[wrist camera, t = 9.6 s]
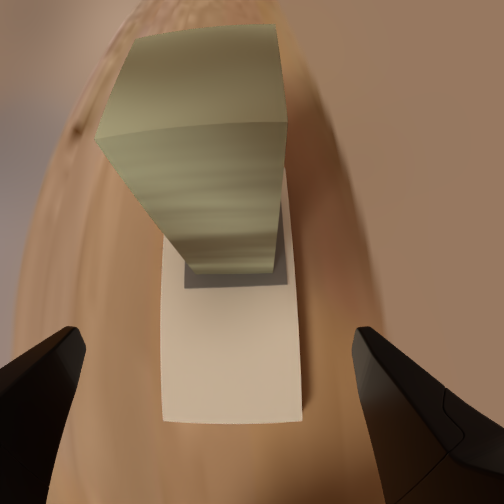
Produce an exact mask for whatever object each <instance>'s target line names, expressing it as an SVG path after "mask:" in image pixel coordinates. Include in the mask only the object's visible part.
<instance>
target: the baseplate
mask: <svg viewBox="0 0 504 504" xmlns="http://www.w3.org/2000/svg"><path fill="white" fill-rule="evenodd" d="M160 352H161V391H162V412H163V421H170V422H184V423H205V424H259V423H280V422H295V421H302V392H301V367H300V346H299V328H298V311H297V296H296V281H295V268H294V255H293V243H292V231H291V220H290V209H289V199H288V189H287V179H286V170H285V168H284V171H283V181H282V192H281V202H280V211H279V221H278V231H277V240H276V249H275V258H274V267H273V273H259V274H195V273H194V272H193V270H192V269H191V268H190V267H189V265H188V264H187V263H186V262H185V260H184V259H183V258H182V257H181V255H180V254H179V253H178V252H177V250H176V249H175V248H174V247H173V245H172V244H171V243H170V242H169V240H168V239H167V238H166V236H165V235H164V241H163V258H162V280H161V321H160Z"/></svg>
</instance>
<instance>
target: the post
mask: <svg viewBox="0 0 504 504" xmlns="http://www.w3.org/2000/svg"><path fill="white" fill-rule="evenodd" d="M287 127H288V118H287V109H286V100H285V92H284V84H283V76H282V68H281V60H280V53H279V46H278V39H277V32H276V26H275V24H249V25H229V26H216V27H206V28H197V29H189V30H182V31H175V32H169V33H163V34H157V35H152V36H147V37H142V38H138V39H135V41H134V43H133V45H132V47H131V49H130V51H129V54H128V56H127V58H126V60H125V62H124V64H123V66H122V69H121V71H120V73H119V75H118V78H117V80H116V82H115V85H114V87H113V89H112V92H111V94H110V97H109V99H108V102H107V105H106V107H105V110H104V112H103V115H102V118H101V121H100V123H99V126H98V129H97V132H96V135H95V138H94V140H95V141H96V143H97V144H98V146H99V147H100V149H101V150H102V151H103V153H104V154H105V156H106V157H107V159H108V160H109V161H110V163H111V164H112V166H113V167H114V168H115V170H116V171H117V173H118V174H119V175H120V177H121V178H122V179H123V181H124V182H125V184H126V185H127V186H128V188H129V189H130V190H131V192H132V193H133V194H134V196H135V197H136V198H137V200H138V201H139V202H140V204H141V205H142V206H143V208H144V209H145V210H146V212H147V213H148V214H149V216H150V217H151V218H152V220H153V221H154V222H155V224H156V225H157V226H158V227H159V229H160V230H161V231H162V233H163V234H164V235H165V236H166V238H167V239H168V240H169V242H170V243H171V244H172V245H173V247H174V248H175V249H176V250H177V252H178V253H179V254H180V255H181V257H182V258H183V259H184V260H185V262H186V263H187V264H188V265H189V267H190V268H191V269H192V270H193V272H194V273H195V274H259V273H273V267H274V258H275V249H276V240H277V231H278V221H279V211H280V202H281V192H282V181H283V171H284V160H285V150H286V139H287Z"/></svg>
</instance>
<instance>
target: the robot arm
mask: <svg viewBox="0 0 504 504" xmlns="http://www.w3.org/2000/svg"><path fill="white" fill-rule="evenodd" d="M85 353H86V345H85V343H84V340H83V338H82V336H81V334H80V331H79V329H78V328H77V327H72V326H66V327H64V328H63V329H61V330H60V331H58V332H56V333H55V334H53V335H52V336H50V337H48V338H47V339H45V340H44V341H42V342H41V343H39V344H38V345H36V346H34V347H33V348H31V349H30V350H28V351H27V352H25V353H24V354H22V355H20V356H19V357H17V358H16V359H14V360H13V361H11V362H10V363H8V364H7V365H5V366H4V367H2V368H1V369H0V504H46V500H47V495H48V490H49V487H48V486H49V485H50V480H51V476H52V472H53V468H54V463H55V459H56V456H57V452H58V448H59V444H60V441H61V437H62V434H63V430H64V427H65V423H66V420H67V417H68V414H69V410H70V407H71V404H72V401H73V398H74V395H75V392H76V389H77V385H78V381H79V377H80V373H81V369H82V365H83V361H84V357H85ZM352 357H353V363H354V369H355V375H356V381H357V388H358V394H359V398H360V402H361V406H362V409H363V413H364V417H365V420H366V424H367V428H368V431H369V435H370V439H371V443H372V447H373V451H374V455H375V459H376V463H377V467H378V471H379V476H380V480H381V484H382V489H383V493H384V498H385V502H386V504H504V428H503V427H501V426H500V425H498V424H497V423H495V422H494V421H492V420H491V419H489V418H488V417H486V416H484V415H483V414H481V413H480V412H478V411H477V410H475V409H474V408H473V407H471V406H469V405H468V404H467V403H465V402H464V401H463V400H462V399H460V398H459V397H458V396H456V395H455V394H454V393H452V392H451V391H450V390H449V389H448V388H445V386H444V385H442V384H441V383H440V382H439V381H438V380H436V379H435V378H434V377H432V376H431V375H430V374H429V373H428V372H426V371H425V370H424V369H423V368H421V367H420V366H419V365H418V364H416V363H415V362H414V361H413V360H411V359H410V358H409V357H408V356H406V355H405V354H404V353H403V352H401V351H400V350H399V349H398V348H396V347H395V346H394V345H393V344H391V343H390V342H389V341H388V340H386V339H385V338H384V337H383V336H381V335H380V334H379V333H378V332H376V331H375V330H374V329H373V328H371V327H369V326H366V327H358V328H357V329H356V331H355V335H354V340H353V345H352Z"/></svg>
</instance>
